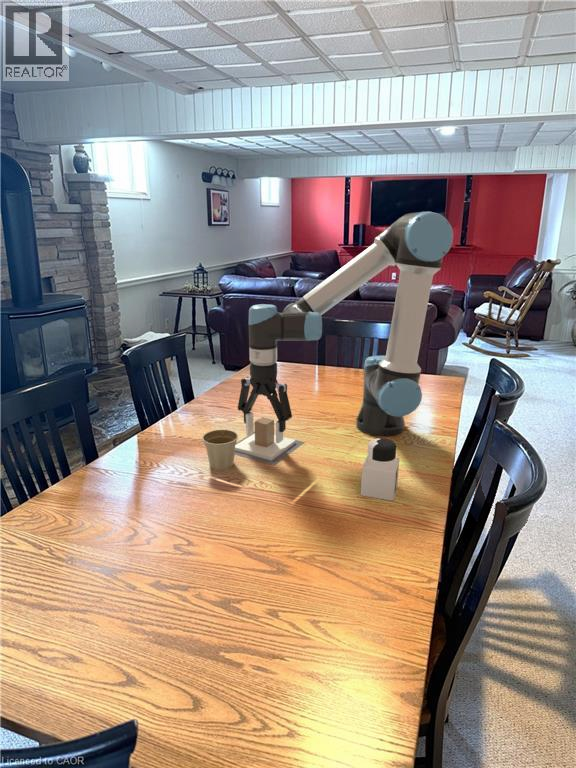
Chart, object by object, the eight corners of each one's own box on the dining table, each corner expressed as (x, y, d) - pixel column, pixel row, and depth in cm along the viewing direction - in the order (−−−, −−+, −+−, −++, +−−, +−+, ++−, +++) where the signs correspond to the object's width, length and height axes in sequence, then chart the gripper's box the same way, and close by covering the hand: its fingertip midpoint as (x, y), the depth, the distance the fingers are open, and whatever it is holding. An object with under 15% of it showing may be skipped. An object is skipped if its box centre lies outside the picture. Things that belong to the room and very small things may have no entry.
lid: (295, 443, 146) (295, 417, 143) (271, 460, 135) (271, 433, 132) (258, 434, 152) (258, 409, 149) (233, 450, 141) (232, 423, 139)
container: (397, 486, 123) (401, 437, 119) (393, 501, 116) (397, 450, 112) (366, 480, 125) (369, 433, 121) (360, 496, 118) (362, 446, 115)
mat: (304, 444, 146) (304, 442, 146) (274, 467, 132) (274, 465, 132) (256, 432, 155) (256, 430, 154) (223, 453, 141) (223, 451, 140)
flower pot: (233, 476, 128) (232, 445, 125) (198, 472, 130) (196, 442, 127) (243, 459, 137) (242, 430, 134) (210, 456, 138) (209, 428, 136)
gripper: (222, 359, 138) (225, 434, 145) (291, 371, 127) (291, 451, 134) (238, 354, 144) (240, 425, 151) (305, 364, 133) (304, 441, 140)
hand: (264, 437), depth 143 cm, fingers open, 9 cm apart
